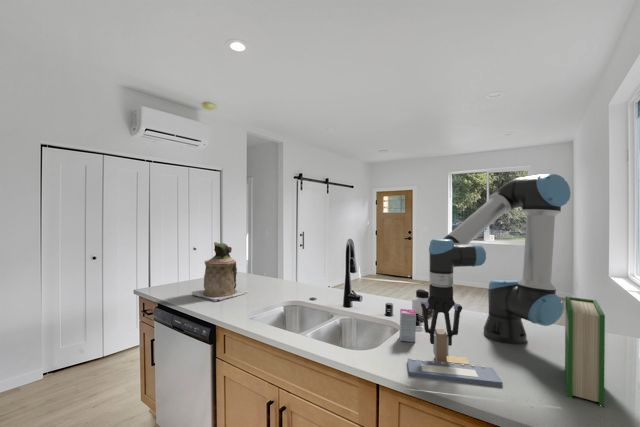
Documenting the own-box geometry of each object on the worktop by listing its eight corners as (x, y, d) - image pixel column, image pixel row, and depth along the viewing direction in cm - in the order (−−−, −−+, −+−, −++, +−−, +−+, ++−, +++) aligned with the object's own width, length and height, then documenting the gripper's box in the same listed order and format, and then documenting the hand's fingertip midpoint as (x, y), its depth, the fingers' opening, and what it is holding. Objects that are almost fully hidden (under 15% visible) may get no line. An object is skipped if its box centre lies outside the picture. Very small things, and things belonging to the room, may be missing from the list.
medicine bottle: (422, 317, 152) (422, 292, 152) (411, 313, 159) (411, 289, 159) (433, 315, 156) (433, 290, 155) (422, 311, 162) (422, 287, 162)
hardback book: (604, 407, 82) (604, 315, 82) (567, 397, 86) (568, 309, 86) (595, 378, 96) (596, 300, 96) (564, 371, 101) (565, 296, 101)
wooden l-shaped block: (465, 359, 108) (466, 331, 108) (469, 366, 103) (469, 336, 103) (434, 356, 110) (435, 328, 110) (437, 363, 105) (437, 333, 105)
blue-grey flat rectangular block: (492, 372, 100) (492, 366, 100) (502, 387, 91) (502, 381, 91) (407, 363, 105) (407, 358, 105) (409, 376, 97) (409, 371, 97)
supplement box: (415, 343, 121) (416, 314, 121) (400, 342, 123) (400, 312, 123) (414, 337, 127) (414, 309, 127) (399, 336, 128) (399, 308, 128)
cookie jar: (217, 302, 175) (217, 245, 175) (189, 296, 189) (190, 242, 188) (249, 293, 196) (249, 241, 196) (223, 287, 209) (223, 239, 209)
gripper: (417, 285, 105) (416, 356, 105) (469, 288, 102) (469, 361, 102) (415, 281, 112) (415, 347, 112) (464, 283, 109) (463, 351, 109)
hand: (440, 353), depth 107 cm, fingers closed on wooden l-shaped block, 3 cm apart
